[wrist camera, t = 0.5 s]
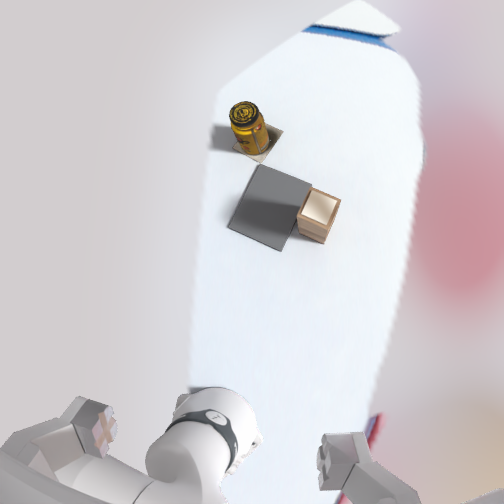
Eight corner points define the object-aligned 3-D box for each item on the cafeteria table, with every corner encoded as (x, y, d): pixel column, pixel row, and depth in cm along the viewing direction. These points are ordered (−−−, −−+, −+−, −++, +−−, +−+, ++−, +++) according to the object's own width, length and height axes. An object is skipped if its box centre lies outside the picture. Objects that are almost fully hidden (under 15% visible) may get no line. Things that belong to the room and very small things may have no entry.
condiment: (232, 148, 62) (216, 119, 50) (254, 118, 62) (243, 85, 50) (261, 163, 60) (251, 135, 49) (283, 132, 61) (278, 99, 49)
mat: (281, 251, 57) (281, 251, 57) (229, 227, 60) (228, 227, 59) (312, 185, 58) (312, 184, 57) (260, 165, 60) (260, 163, 60)
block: (323, 244, 56) (328, 229, 44) (299, 233, 57) (296, 215, 45) (334, 220, 56) (341, 199, 44) (309, 209, 57) (310, 185, 45)
